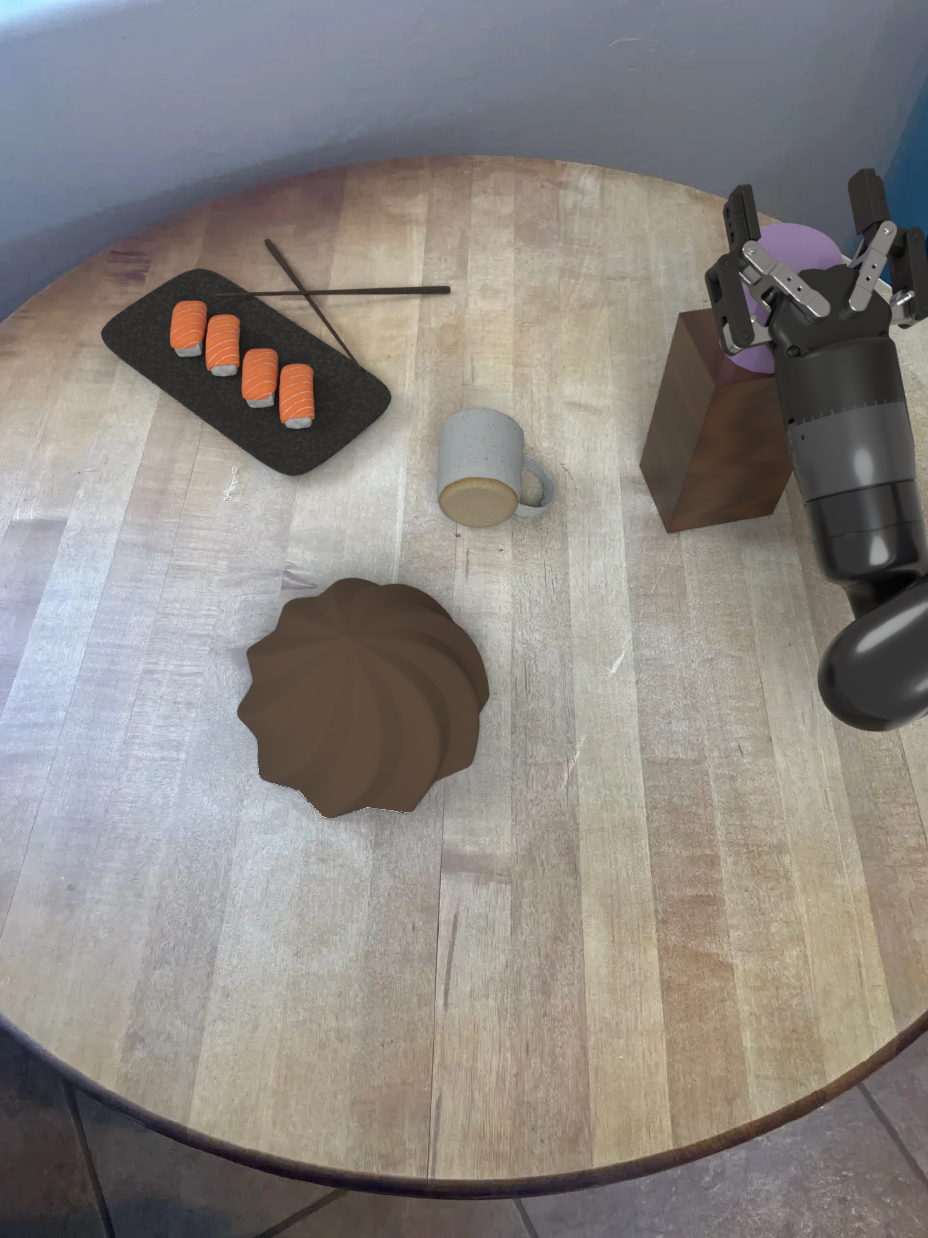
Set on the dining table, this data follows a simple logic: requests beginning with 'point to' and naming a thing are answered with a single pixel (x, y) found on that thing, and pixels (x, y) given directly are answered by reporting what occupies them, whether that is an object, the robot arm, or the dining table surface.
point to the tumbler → (799, 253)
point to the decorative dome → (364, 697)
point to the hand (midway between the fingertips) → (799, 181)
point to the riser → (713, 434)
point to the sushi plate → (252, 366)
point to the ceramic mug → (486, 469)
